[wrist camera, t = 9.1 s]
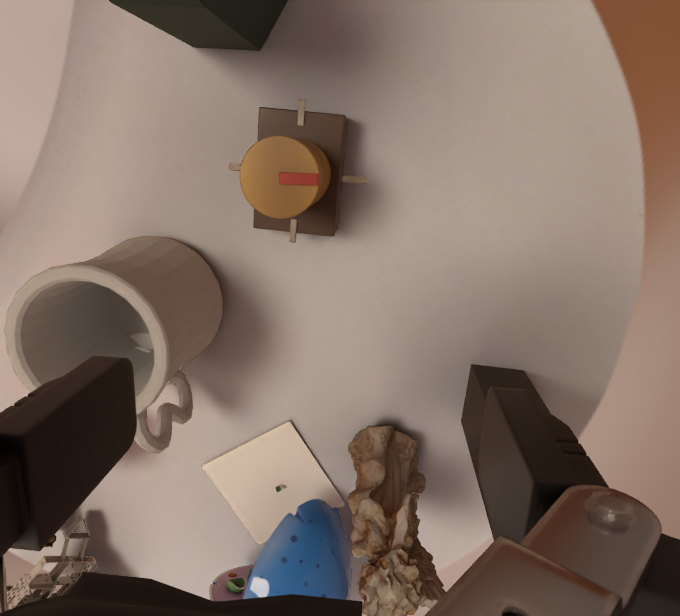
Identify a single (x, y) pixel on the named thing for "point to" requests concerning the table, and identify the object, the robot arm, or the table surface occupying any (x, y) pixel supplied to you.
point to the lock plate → (332, 141)
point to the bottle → (210, 20)
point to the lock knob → (284, 175)
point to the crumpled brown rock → (390, 525)
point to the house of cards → (52, 572)
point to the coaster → (270, 480)
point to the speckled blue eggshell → (295, 560)
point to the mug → (120, 322)
